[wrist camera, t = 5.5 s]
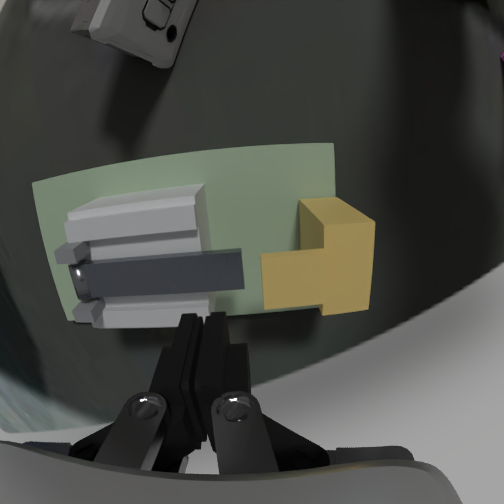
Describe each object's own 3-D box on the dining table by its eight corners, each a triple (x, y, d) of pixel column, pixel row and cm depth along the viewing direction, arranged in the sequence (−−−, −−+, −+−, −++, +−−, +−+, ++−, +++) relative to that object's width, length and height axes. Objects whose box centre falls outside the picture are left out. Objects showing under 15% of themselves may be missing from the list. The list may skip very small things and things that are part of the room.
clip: (336, 197, 23) (381, 225, 15) (335, 263, 25) (372, 316, 17) (252, 202, 23) (259, 234, 15) (257, 270, 25) (265, 329, 17)
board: (329, 142, 23) (372, 145, 15) (329, 299, 28) (359, 356, 20) (39, 181, 23) (-22, 201, 15) (72, 314, 28) (33, 364, 20)
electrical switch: (172, 72, 21) (121, 36, 12) (118, 66, 21) (53, 38, 12) (207, -20, 18) (180, -81, 9) (153, -22, 18) (110, -73, 9)
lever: (241, 246, 19) (241, 254, 18) (244, 281, 20) (244, 291, 18) (74, 260, 19) (64, 268, 18) (82, 291, 20) (74, 300, 18)
